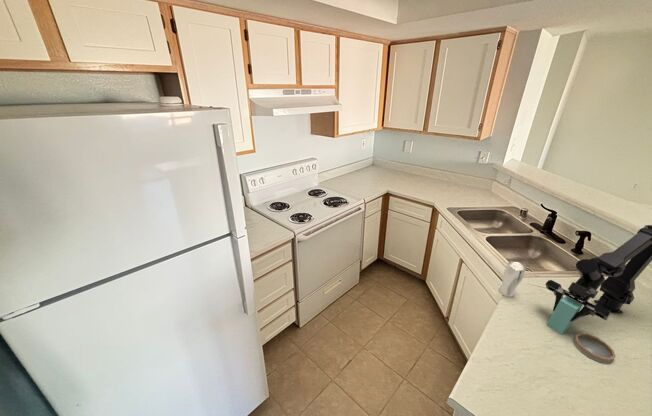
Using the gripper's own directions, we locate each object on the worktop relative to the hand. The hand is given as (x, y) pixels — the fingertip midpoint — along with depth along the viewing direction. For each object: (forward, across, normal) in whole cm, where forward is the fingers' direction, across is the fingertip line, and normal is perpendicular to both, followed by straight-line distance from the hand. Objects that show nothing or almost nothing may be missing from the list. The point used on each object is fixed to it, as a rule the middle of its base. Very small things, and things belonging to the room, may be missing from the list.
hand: (562, 316), depth 99 cm
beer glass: (+3, -20, +7) cm, 22 cm away
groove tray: (+4, +11, +6) cm, 13 cm away
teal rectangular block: (+4, 0, +6) cm, 7 cm away
